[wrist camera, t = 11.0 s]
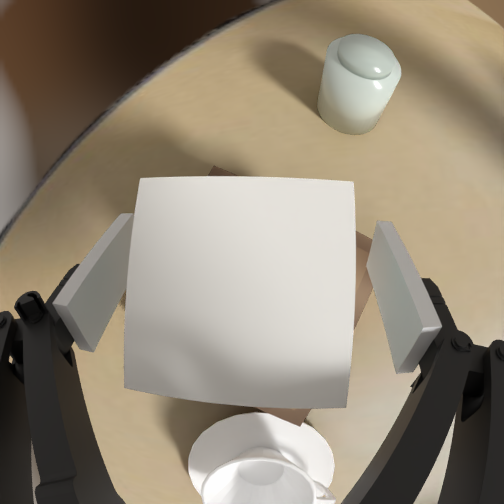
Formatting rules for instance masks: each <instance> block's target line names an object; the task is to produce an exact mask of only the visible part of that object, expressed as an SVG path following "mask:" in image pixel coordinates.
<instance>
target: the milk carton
mask: <svg viewBox="0 0 504 504" xmlns="http://www.w3.org/2000/svg"><path fill="white" fill-rule="evenodd" d="M355 284H356V227H355V199H354V182H349V181H336V180H321V179H304V178H282V177H246V176H190V177H154V178H140V182H139V188H138V194H137V201H136V207H135V214H134V221H133V229H132V237H131V245H130V254H129V265H128V276H127V289H126V305H125V329H124V388H127V389H132V390H136V391H141V392H146V393H151V394H156V395H162V396H167V397H173V398H180V399H186V400H193V401H200V402H208V403H217V404H227V405H237V406H250V407H267V408H299V409H318V408H346V404H347V396H348V388H349V378H350V368H351V357H352V345H353V330H354V312H355Z"/></svg>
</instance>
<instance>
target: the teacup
mask: <svg viewBox="0 0 504 504" xmlns="http://www.w3.org/2000/svg"><path fill="white" fill-rule="evenodd" d="M334 468H335V465H334V458H333V452H332V450H331V449H330V447H329V445H328V443H327V441H326V439H325V438H324V437H323V436H322V435H320V434H319V433H318V432H317V431H316V430H315V429H314V428H313V427H311V426H309V425H308V424H306V423H304V422H303V423H302V425H301V426H300V427H299V426H297V425H294V424H292V423H289V422H287V421H285V420H282V419H280V418H278V417H275V416H273V415H271V414H268V413H265V412H252V413H245V414H238V415H234V416H231V417H229V418H226V419H223V420H221V421H218V422H216V423H215V424H213V425H212V426H211V427H209V428H208V429H206V430H205V431H203V432H202V434H201V435H200V436H199V437H198V439H197V440H196V441H195V442H194V444H193V446H192V449H191V452H190V455H189V458H188V469H189V475H190V478H191V480H192V483H193V486H194V487H195V489H196V490H197V491H198V493H199V494H200V495H201V497H202V501H203V504H334V503H335V501H336V498H335V497H334V495H333V494H332V493H331V492H330V491H329V489H328V487H329V485H330V483H331V482H332V478H333V473H334ZM324 494H325V496H326V497H322V496H323V495H324Z"/></svg>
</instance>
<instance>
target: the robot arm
mask: <svg viewBox="0 0 504 504" xmlns="http://www.w3.org/2000/svg"><path fill="white" fill-rule="evenodd" d="M133 221H134V214H133V213H121V214H120V215H119V216H118V217H117V218H116V220H115V221H114V222H113V223H112V224H111V226H110V227H109V228H108V229H107V230H106V232H105V233H104V234H103V235H102V237H101V238H100V239H99V240H98V242H97V243H96V244H95V245H94V247H93V248H92V249H91V250H90V252H89V253H88V254H87V256H86V257H85V258H84V260H83V261H82V262H81V264H76V265H75V266H74V267H73V268H71V269H70V270H69V271H68V272H67V274H66V275H65V276H64V278H63V280H61V282H60V283H59V286H57V287H56V289H55V290H54V292H53V293H52V295H51V296H50V297H49V299H48V300H47V302H46V303H44V301H43V300H42V298H41V296H40V294H39V293H38V292H37V291H30V292H27V293H25V294H23V295H22V296H21V297H19V298H18V300H17V301H16V303H15V306H14V308H15V310H16V311H17V313H18V315H19V316H20V319H14V317H13V316H12V314H11V313H10V312H9V311H3V312H1V313H0V504H34V501H33V489H32V471H31V438H32V444H33V449H34V454H35V458H36V463H37V466H38V471H39V475H40V480H41V482H40V484H39V485H38V486H37V487H36V489H35V496H36V500H37V504H126V503H125V502H124V501H123V499H122V498H121V497H120V496H119V495H118V494H117V492H116V491H115V489H114V486H113V484H112V482H111V479H110V477H109V474H108V472H107V469H106V466H105V464H104V461H103V458H102V456H101V453H100V450H99V447H98V444H97V441H96V438H95V435H94V432H93V428H92V425H91V422H90V418H89V415H88V411H87V408H86V404H85V400H84V396H83V392H82V388H81V383H80V379H79V374H78V370H77V365H76V359H75V354H74V351H73V349H72V347H71V346H72V344H73V342H74V341H75V342H76V344H77V346H78V347H79V349H81V350H85V351H90V352H94V351H95V349H96V347H97V345H98V342H99V340H100V338H101V336H102V334H103V332H104V330H105V328H106V326H107V324H108V322H109V320H110V318H111V316H112V314H113V312H114V311H115V309H116V307H117V305H118V303H119V301H120V299H121V297H122V295H123V294H124V292H125V290H126V288H127V276H128V265H129V254H130V245H131V237H132V229H133ZM366 267H367V270H368V273H369V276H370V279H371V282H372V286H373V289H374V292H375V296H376V299H377V302H378V306H379V309H380V313H381V316H382V320H383V323H384V327H385V331H386V335H387V339H388V342H389V346H390V350H391V355H392V359H393V363H394V367H395V372H396V374H398V373H409V372H413V371H414V370H415V368H416V367H417V365H418V364H419V366H420V369H421V373H420V374H419V376H418V377H417V378H416V380H415V381H414V382H413V384H412V385H411V386H410V387H412V390H411V392H410V394H409V396H408V398H407V400H406V402H405V404H404V406H403V408H402V410H401V412H400V414H399V416H398V417H397V419H396V421H395V423H394V425H393V426H392V428H391V430H390V432H389V433H388V435H387V437H386V439H385V440H384V442H383V444H382V445H381V447H380V448H379V450H378V452H377V453H376V455H375V456H374V458H373V459H372V461H371V463H370V464H369V466H368V467H367V468H366V470H365V471H364V473H363V474H362V476H361V477H360V479H359V480H358V481H357V483H356V484H355V486H354V487H353V488H352V490H351V491H350V492H349V494H348V495H347V496H346V498H345V499H344V500H343V501H342V503H341V504H413V503H414V501H415V499H416V498H417V496H418V494H419V492H420V491H421V489H422V487H423V485H424V483H425V481H426V479H427V478H428V476H429V474H430V472H431V470H432V468H433V466H434V463H435V461H436V459H437V457H438V455H439V453H440V450H441V448H442V446H443V444H444V441H445V439H446V436H447V434H448V431H449V429H450V426H451V424H452V421H453V419H454V416H455V413H456V416H455V424H454V431H453V437H452V443H451V449H450V455H449V460H448V464H447V469H446V473H445V478H444V482H443V486H442V490H441V493H440V497H439V500H438V504H504V341H502V340H495V341H493V342H492V343H491V345H490V346H489V347H483V346H479V345H475V344H473V342H472V340H471V339H470V337H469V336H468V335H467V334H465V333H464V332H462V331H459V330H457V327H456V325H455V323H454V320H453V318H452V316H451V314H450V312H449V309H448V307H447V305H445V301H444V299H443V297H442V295H441V293H440V291H439V289H438V287H437V286H436V284H435V283H434V282H433V281H432V280H431V279H430V278H421V277H420V275H419V273H418V271H417V269H416V267H415V265H414V263H413V261H412V259H411V257H410V255H409V253H408V251H407V249H406V248H405V246H404V244H403V242H402V240H401V238H400V236H399V235H398V233H397V231H396V229H395V227H394V226H393V224H392V222H388V221H377V224H376V228H375V232H374V237H373V241H372V245H371V249H370V253H369V257H368V261H367V265H366ZM10 356H11V357H12V358H13V361H12V364H11V363H10V362H9V357H10Z"/></svg>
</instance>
